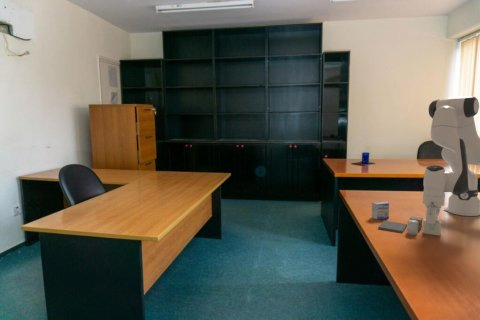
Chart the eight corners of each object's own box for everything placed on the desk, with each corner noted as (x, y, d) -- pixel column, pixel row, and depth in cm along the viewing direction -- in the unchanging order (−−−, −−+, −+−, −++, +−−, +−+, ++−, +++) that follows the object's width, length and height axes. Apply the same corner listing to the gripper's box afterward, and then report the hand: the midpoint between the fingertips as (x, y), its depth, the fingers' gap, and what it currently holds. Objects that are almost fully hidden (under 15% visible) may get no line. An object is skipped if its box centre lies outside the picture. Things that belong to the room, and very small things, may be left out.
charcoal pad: (383, 222, 172) (383, 220, 172) (406, 226, 166) (407, 224, 166) (378, 228, 163) (378, 226, 163) (402, 232, 156) (402, 230, 156)
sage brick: (424, 230, 159) (424, 218, 158) (440, 233, 155) (441, 221, 154) (422, 233, 156) (423, 220, 155) (439, 235, 151) (440, 223, 151)
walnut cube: (411, 225, 167) (411, 215, 166) (422, 227, 164) (422, 217, 163) (409, 228, 163) (409, 218, 162) (420, 229, 160) (421, 220, 159)
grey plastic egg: (408, 231, 159) (408, 219, 158) (418, 232, 156) (418, 220, 155) (406, 233, 155) (407, 221, 154) (416, 235, 152) (417, 223, 152)
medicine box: (376, 220, 177) (377, 204, 176) (371, 217, 181) (371, 202, 180) (388, 218, 179) (389, 203, 178) (383, 216, 183) (383, 201, 182)
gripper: (439, 206, 143) (437, 236, 145) (443, 196, 159) (441, 224, 161) (422, 204, 147) (421, 234, 148) (428, 195, 163) (427, 222, 165)
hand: (432, 228), depth 155 cm, fingers closed on sage brick, 4 cm apart
